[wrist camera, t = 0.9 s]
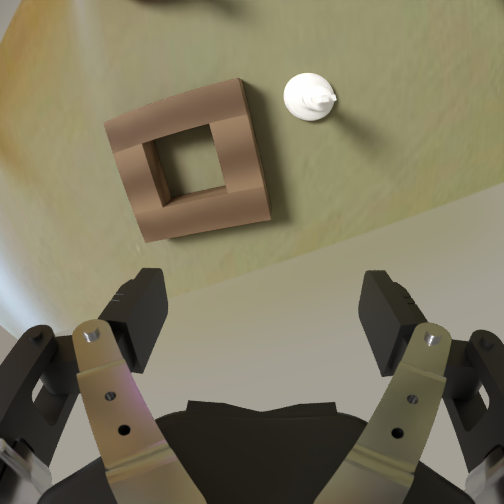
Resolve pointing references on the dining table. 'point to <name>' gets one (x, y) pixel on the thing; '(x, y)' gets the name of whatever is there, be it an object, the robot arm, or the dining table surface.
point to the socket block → (228, 150)
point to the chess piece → (309, 96)
